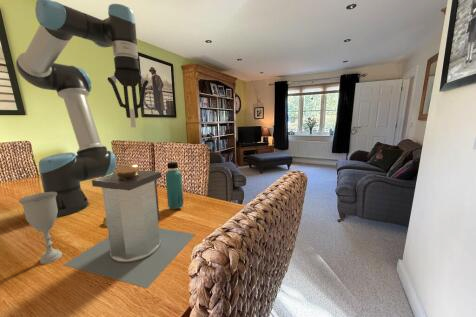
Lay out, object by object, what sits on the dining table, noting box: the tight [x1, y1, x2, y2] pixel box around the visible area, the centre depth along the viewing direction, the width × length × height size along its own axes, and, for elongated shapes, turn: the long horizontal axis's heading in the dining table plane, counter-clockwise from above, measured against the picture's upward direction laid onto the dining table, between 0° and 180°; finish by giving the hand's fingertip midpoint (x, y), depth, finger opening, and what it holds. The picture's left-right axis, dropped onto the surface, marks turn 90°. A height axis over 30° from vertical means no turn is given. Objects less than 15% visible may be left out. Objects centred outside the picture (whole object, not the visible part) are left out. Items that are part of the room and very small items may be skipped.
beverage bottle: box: [164, 161, 185, 209], centre depth 83 cm, size 6×7×20 cm
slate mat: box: [63, 227, 197, 289], centre depth 58 cm, size 26×22×1 cm
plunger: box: [116, 163, 139, 178], centre depth 56 cm, size 9×9×23 cm
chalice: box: [18, 191, 63, 265], centre depth 53 cm, size 7×7×18 cm
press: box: [91, 170, 162, 263], centre depth 58 cm, size 13×16×22 cm
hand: (133, 127), depth 74 cm, fingers closed
